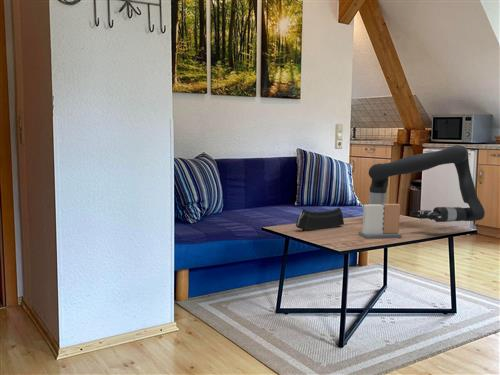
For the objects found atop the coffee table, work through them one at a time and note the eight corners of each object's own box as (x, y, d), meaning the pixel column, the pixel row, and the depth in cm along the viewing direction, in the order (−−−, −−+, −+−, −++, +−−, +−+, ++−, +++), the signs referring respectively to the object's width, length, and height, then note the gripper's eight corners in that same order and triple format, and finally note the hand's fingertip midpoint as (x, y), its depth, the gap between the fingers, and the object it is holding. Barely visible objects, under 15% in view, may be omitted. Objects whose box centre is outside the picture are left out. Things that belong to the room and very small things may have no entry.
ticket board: (358, 234, 251) (359, 203, 249) (392, 233, 254) (393, 202, 252) (366, 238, 241) (368, 206, 239) (401, 237, 244) (403, 205, 242)
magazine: (343, 209, 272) (303, 196, 256) (348, 210, 270) (307, 197, 253) (335, 239, 272) (294, 228, 255) (340, 240, 269) (298, 229, 252)
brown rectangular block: (380, 231, 249) (382, 204, 247) (395, 231, 250) (397, 203, 249) (383, 233, 246) (385, 204, 244) (398, 232, 248) (400, 204, 246)
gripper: (437, 204, 259) (408, 205, 256) (453, 209, 245) (422, 209, 242) (436, 219, 260) (407, 219, 257) (452, 224, 246) (422, 225, 243)
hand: (415, 215), depth 250 cm, fingers open, 8 cm apart
